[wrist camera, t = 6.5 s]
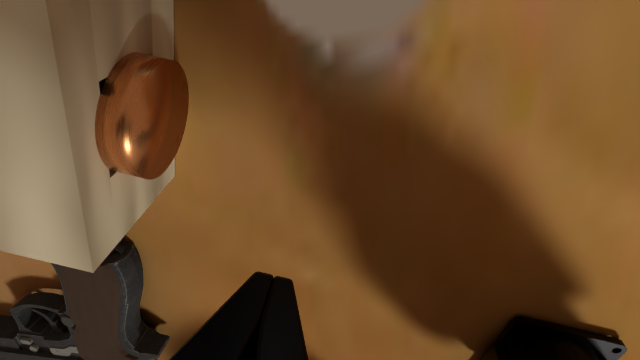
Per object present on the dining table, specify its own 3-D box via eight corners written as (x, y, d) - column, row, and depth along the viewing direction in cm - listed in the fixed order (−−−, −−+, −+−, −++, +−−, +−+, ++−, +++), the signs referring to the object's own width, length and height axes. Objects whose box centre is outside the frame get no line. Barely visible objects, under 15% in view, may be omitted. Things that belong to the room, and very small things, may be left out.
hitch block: (173, -46, 14) (40, -32, 9) (174, 175, 20) (93, 273, 14) (-37, -97, 14) (-310, -117, 9) (22, 139, 20) (-121, 221, 14)
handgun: (-149, 239, 24) (-50, 366, 30) (112, 258, 21) (168, 397, 26) (-96, 213, 27) (-14, 334, 32) (144, 226, 23) (188, 359, 29)
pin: (189, 46, 15) (127, 83, 11) (188, 145, 17) (136, 203, 14) (-122, -29, 15) (-289, -17, 11) (-81, 81, 17) (-206, 121, 14)
